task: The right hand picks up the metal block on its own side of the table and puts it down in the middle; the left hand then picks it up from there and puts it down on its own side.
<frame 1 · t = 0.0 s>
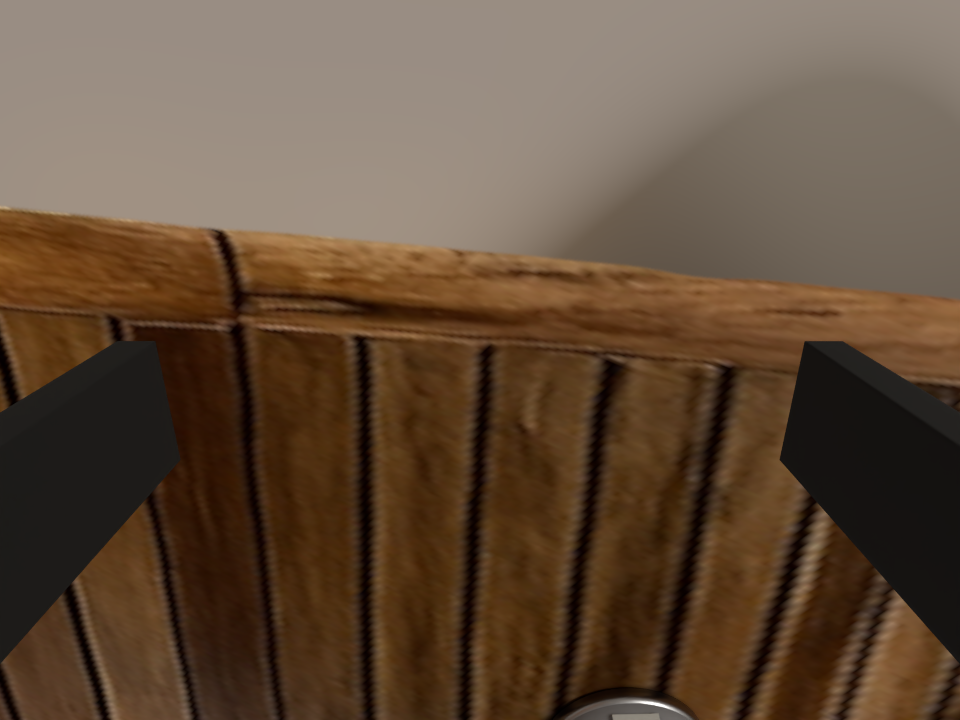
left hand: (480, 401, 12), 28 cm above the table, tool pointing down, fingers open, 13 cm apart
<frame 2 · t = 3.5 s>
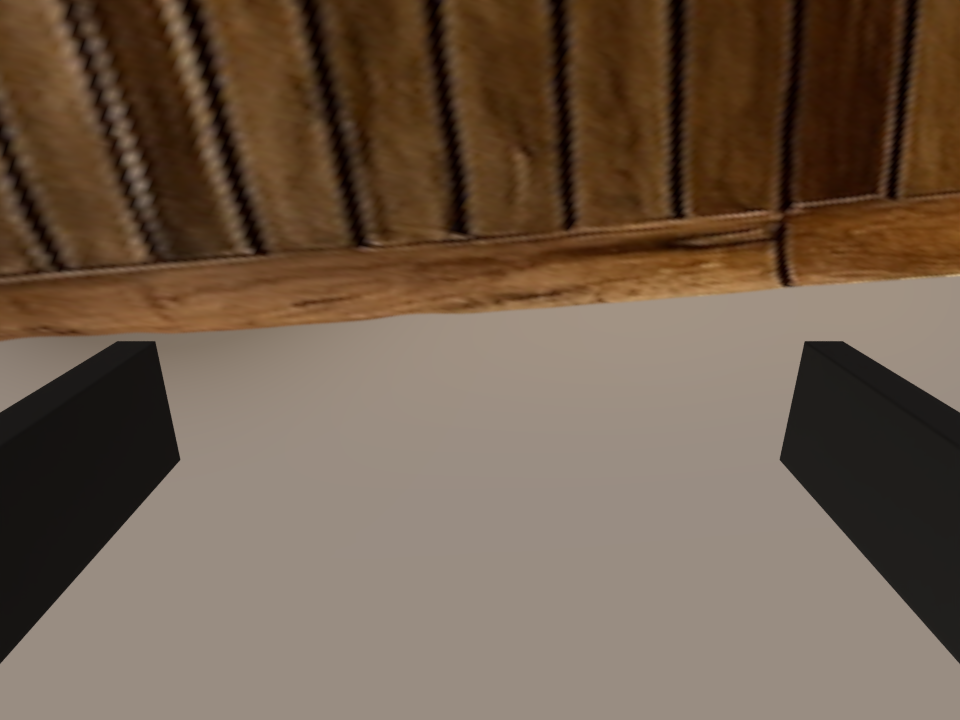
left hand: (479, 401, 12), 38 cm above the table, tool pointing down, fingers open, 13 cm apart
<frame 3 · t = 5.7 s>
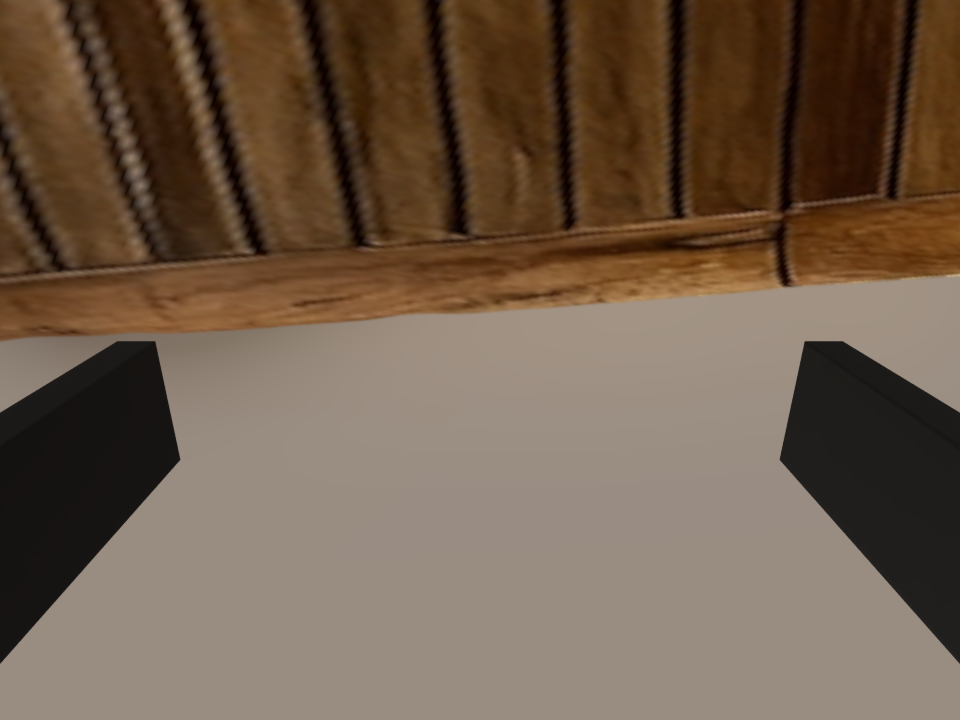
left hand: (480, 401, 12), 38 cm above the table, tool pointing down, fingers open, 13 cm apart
when the right hand's fingers open (2 cm above the table, at t = 7.8 s): block stays where it is, on the table.
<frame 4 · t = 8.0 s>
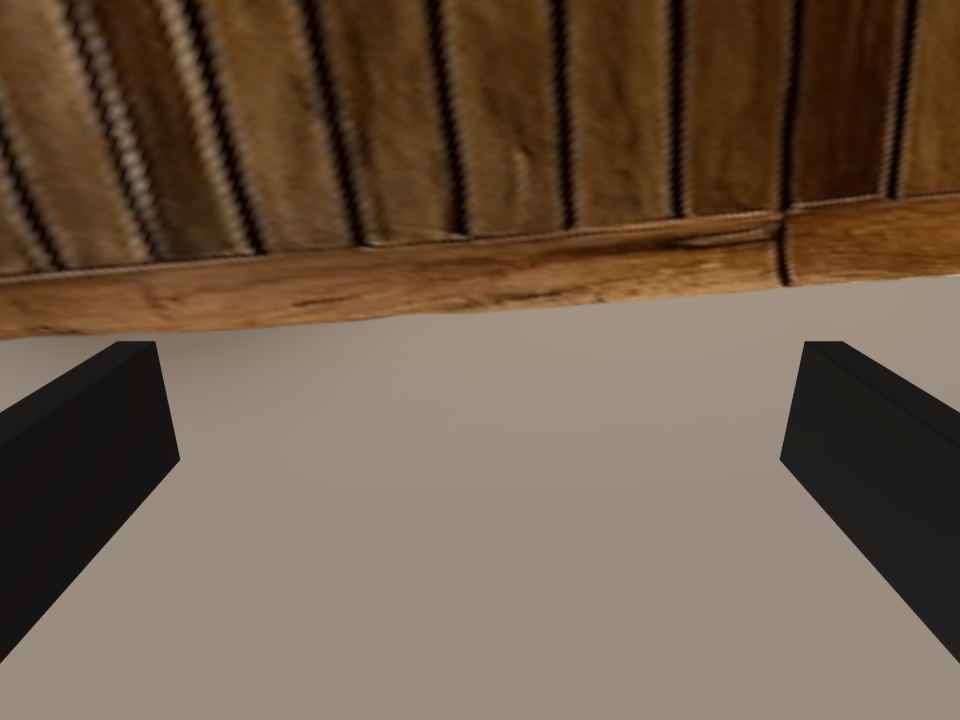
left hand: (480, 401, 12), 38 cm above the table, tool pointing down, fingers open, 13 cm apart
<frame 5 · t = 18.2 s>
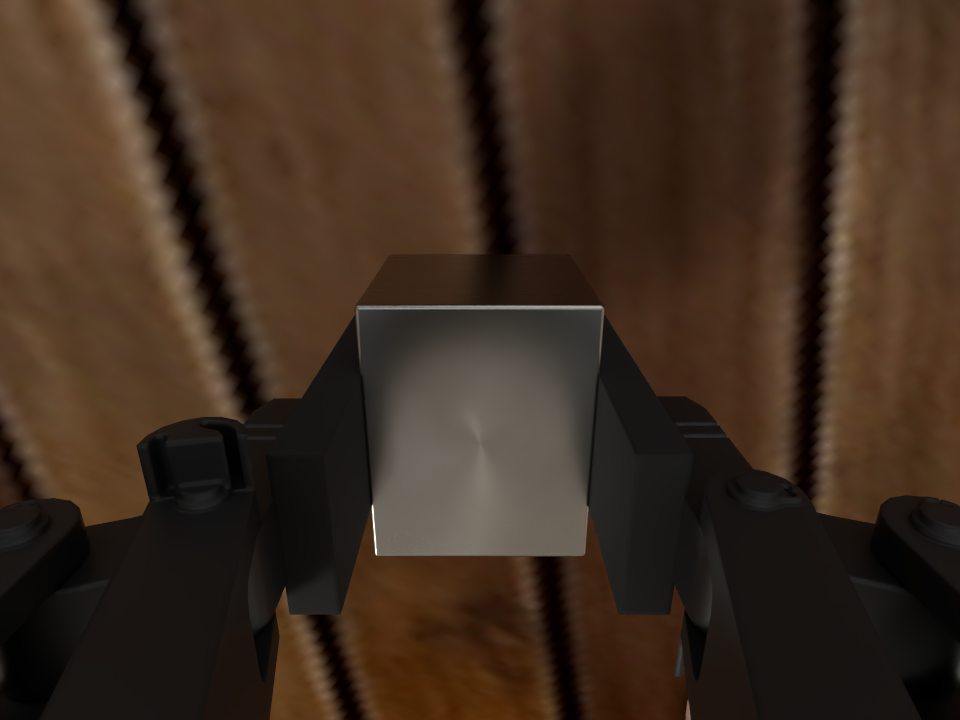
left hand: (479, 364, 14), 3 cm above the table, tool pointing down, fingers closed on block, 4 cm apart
block: (479, 358, 15), point 3 cm above the table, touching left hand
when the left hand's fingers open (0 cm above the table, at t = 24.0 s): block stays where it is, on the table.
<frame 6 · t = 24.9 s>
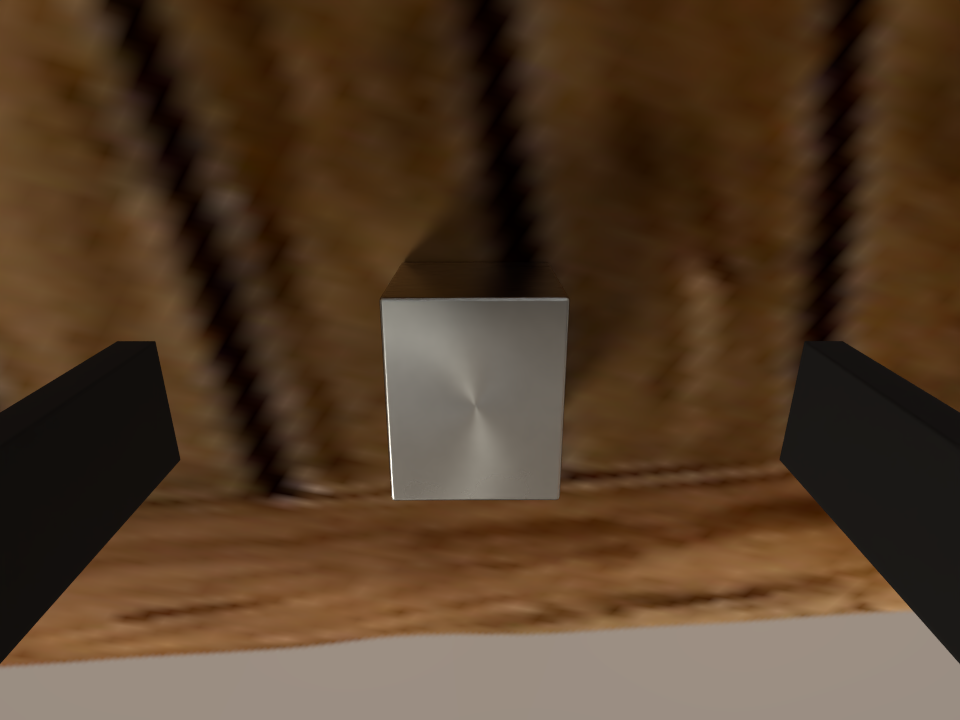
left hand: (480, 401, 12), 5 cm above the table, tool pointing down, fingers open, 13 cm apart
block: (475, 348, 18), on the table
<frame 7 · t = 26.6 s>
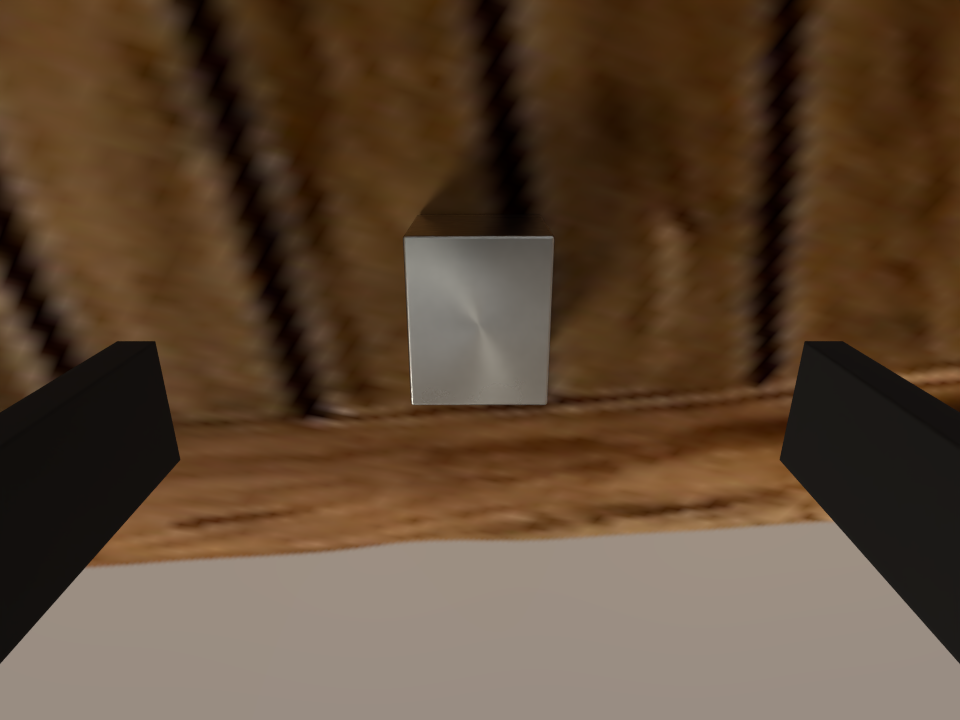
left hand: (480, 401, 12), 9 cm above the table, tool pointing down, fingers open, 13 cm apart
block: (479, 288, 21), on the table
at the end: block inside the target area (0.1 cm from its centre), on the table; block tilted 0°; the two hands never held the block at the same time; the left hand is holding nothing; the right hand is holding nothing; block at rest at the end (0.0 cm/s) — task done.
